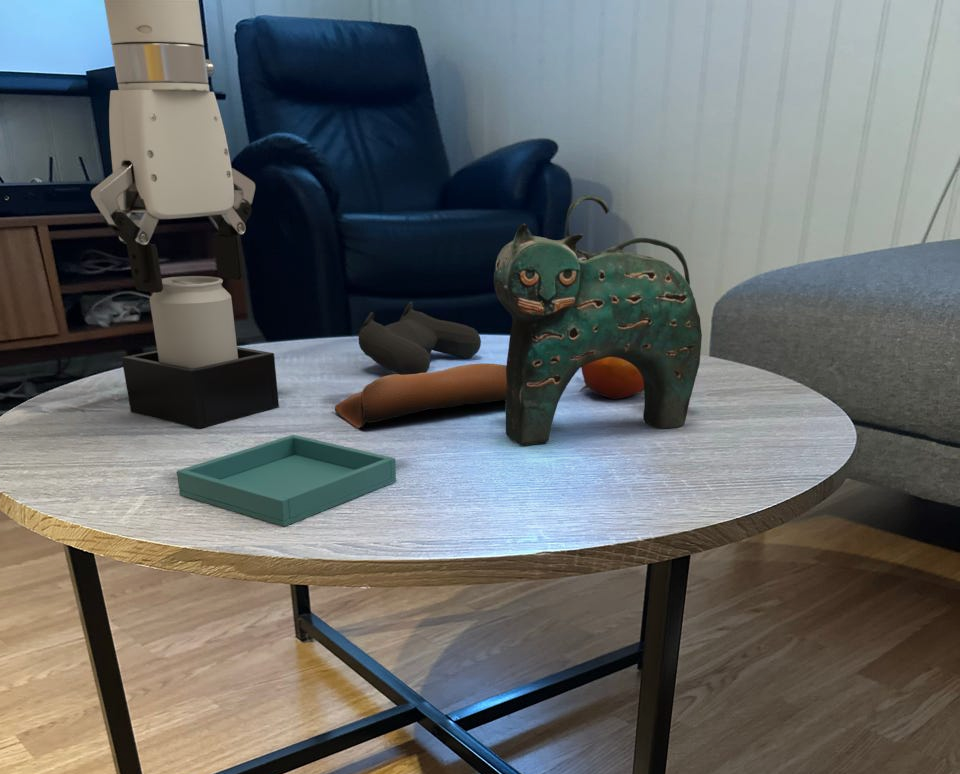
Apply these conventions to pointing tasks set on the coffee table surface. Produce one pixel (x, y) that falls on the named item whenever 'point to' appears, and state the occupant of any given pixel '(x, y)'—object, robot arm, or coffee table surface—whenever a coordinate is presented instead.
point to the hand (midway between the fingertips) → (192, 284)
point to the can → (193, 322)
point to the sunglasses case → (424, 392)
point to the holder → (201, 388)
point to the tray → (286, 478)
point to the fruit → (612, 378)
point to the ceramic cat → (593, 325)
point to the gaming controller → (415, 341)
